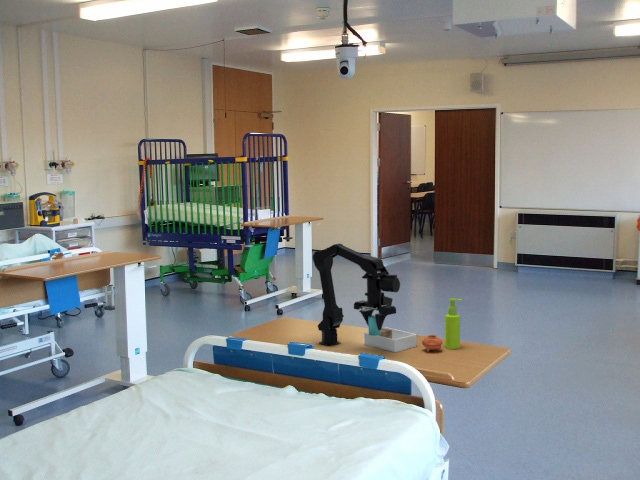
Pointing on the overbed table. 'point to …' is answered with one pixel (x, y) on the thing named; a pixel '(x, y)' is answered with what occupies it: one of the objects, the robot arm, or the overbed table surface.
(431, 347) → the pot
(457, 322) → the soap dispenser
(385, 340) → the tote
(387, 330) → the walnut cube
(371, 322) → the teal cylinder
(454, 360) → the overbed table surface
